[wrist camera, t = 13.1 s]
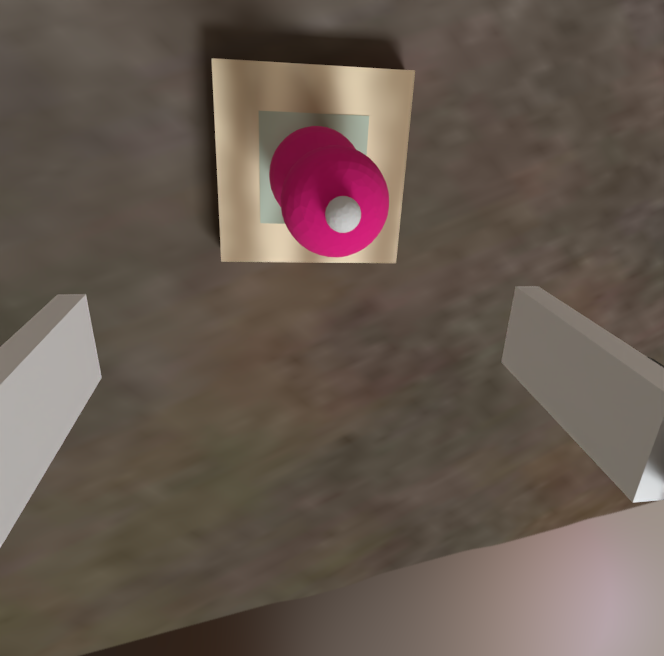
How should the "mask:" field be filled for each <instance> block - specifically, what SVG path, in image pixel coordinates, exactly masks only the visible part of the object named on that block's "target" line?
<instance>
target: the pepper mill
mask: <svg viewBox="0 0 664 656" xmlns="http://www.w3.org/2000/svg"><path fill="white" fill-rule="evenodd" d="M269 180H270V186H271V190H272V192H273V195H274V197H275V199H276V201H277V202H278V204H279V205H280V207H281V211H282V216H283V219H284V222H285V224H286V227H287V229H288V230H289V232H290V233H291V235H292V236H293V237H294V238H295V240H296V241H297V242H298V243H299V244H300V245H301V246H303V247H304V248H306V249H307V250H309V251H311V252H313V253H316V254H318V255H322V256H326V257H345V256H349V255H352V254H355V253H357V252H359V251H361V250H363V249H364V248H366V247H367V246H368V245H369V244H371V243H372V242H373V241H374V239H375V238H376V237H377V236H378V234H379V233H380V231H381V230H382V228H383V226H384V224H385V222H386V219H387V216H388V210H389V192H388V188H387V184H386V181H385V179H384V177H383V175H382V173H381V171H380V170H379V168H378V167H377V165H376V164H375V163H374V162H373V161H372V160H371V159H370V158H369V157H368V156H366V155H365V154H363V153H362V152H360V151H358V150H356V149H355V147H354V146H353V144H352V143H351V142H350V141H349V140H348V139H347V138H346V137H345V136H344V135H342V134H341V133H339V132H338V131H336V130H334V129H331V128H328V127H323V126H310V127H304V128H301V129H299V130H296V131H295V132H293V133H291V134H290V135H288V136H287V137H286V138H285V139H284V140H283V141H282V142H281V143H280V144H279V146H278V147H277V149H276V150H275V152H274V155H273V157H272V160H271V164H270V170H269Z"/></svg>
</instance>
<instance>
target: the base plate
mask: <svg viewBox="0 0 664 656" xmlns="http://www.w3.org/2000/svg"><path fill="white" fill-rule="evenodd" d="M414 77H415V71H414V70H398V69H381V68H365V67H348V66H332V65H315V64H298V63H282V62H265V61H249V60H232V59H215V58H212V79H213V99H214V120H215V141H216V161H217V182H218V203H219V223H220V244H221V262H326V263H396V257H397V247H398V237H399V227H400V217H401V207H402V197H403V187H404V177H405V167H406V157H407V147H408V137H409V127H410V117H411V107H412V97H413V87H414ZM310 126H323V127H328V128H331V129H334V130H336V131H338V132H339V133H341V134H342V135H344V136H345V137H346V138H347V139H348V140H349V141H350V142H351V143H352V144H353V146H354V147H355V149H356V150H358V151H360V152H362V153H363V154H365V155H366V156H368V157H369V158H370V159H371V160H372V161H373V162H374V163H375V164H376V165H377V167H378V168H379V170H380V171H381V173H382V175H383V177H384V179H385V181H386V184H387V188H388V192H389V210H388V216H387V219H386V222H385V224H384V226H383V228H382V230H381V231H380V233H379V234H378V236H377V237H376V238H375V239H374V241H373V242H372V243H371V244H369V245H368V246H367V247H366V248H364V249H363V250H361V251H359V252H357V253H355V254H352V255H349V256H345V257H326V256H322V255H318V254H316V253H313V252H311V251H309V250H307V249H306V248H304V247H303V246H301V245H300V244H299V243H298V242H297V241H296V240H295V238H294V237H293V236H292V235H291V233H290V232H289V230H288V229H287V227H286V224H285V222H284V219H283V216H282V211H281V207H280V205H279V204H278V202H277V201H276V199H275V197H274V195H273V192H272V190H271V186H270V180H269V170H270V164H271V160H272V157H273V155H274V152H275V150H276V149H277V147H278V146H279V144H280V143H281V142H282V141H283V140H284V139H285V138H286V137H287V136H288V135H290V134H291V133H293V132H295V131H296V130H299V129H301V128H304V127H310Z"/></svg>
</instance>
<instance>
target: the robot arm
mask: <svg viewBox="0 0 664 656" xmlns="http://www.w3.org/2000/svg"><path fill="white" fill-rule="evenodd" d="M501 362H502V363H503V364H504V366H505V367H506V368H507V369H508V370H509V371H510V372H511V373H512V374H513V375H514V376H515V377H516V378H517V379H518V380H519V382H520V383H521V384H522V385H523V386H524V387H525V388H526V389H527V390H528V391H529V392H530V393H531V394H532V395H533V397H534V398H535V399H536V400H537V401H538V402H539V403H540V404H541V405H542V406H543V407H544V408H545V409H546V410H547V411H548V413H549V414H550V415H551V416H552V417H553V418H554V419H555V420H556V421H557V422H558V423H559V424H560V425H561V426H562V427H563V429H564V430H565V431H566V432H567V433H568V434H569V435H570V436H571V437H572V438H573V439H574V440H575V441H576V442H577V444H578V445H579V446H580V447H581V448H582V449H583V450H584V451H585V452H586V453H587V454H588V455H589V456H590V457H591V458H592V460H593V461H594V462H595V463H596V464H597V465H598V466H599V467H600V468H601V469H602V470H603V471H604V472H605V473H606V474H607V476H608V477H609V478H610V479H611V480H612V481H613V482H614V483H615V484H616V485H617V486H618V487H619V488H620V489H621V490H622V492H623V493H624V494H625V495H626V496H627V497H628V498H629V499H630V500H631V501H632V502H644V501H657V500H664V366H663V365H661V364H660V363H658V362H657V361H655V360H654V359H652V358H649V357H647V356H645V355H643V354H642V353H640V352H639V351H637V350H636V349H634V348H632V347H631V346H629V345H628V344H626V343H625V342H623V341H622V340H620V339H619V338H617V337H616V336H614V335H612V334H611V333H609V332H608V331H606V330H605V329H603V328H602V327H600V326H599V325H597V324H596V323H594V322H592V321H591V320H589V319H588V318H586V317H585V316H583V315H582V314H580V313H579V312H577V311H575V310H574V309H572V308H571V307H569V306H568V305H566V304H565V303H563V302H562V301H560V300H559V299H557V298H555V297H554V296H552V295H551V294H549V293H548V292H546V291H545V290H543V289H542V288H540V287H539V286H517V287H516V288H515V293H514V298H513V303H512V309H511V314H510V319H509V324H508V330H507V335H506V340H505V345H504V351H503V356H502V361H501ZM101 378H102V377H101V372H100V367H99V361H98V356H97V351H96V345H95V340H94V335H93V329H92V324H91V319H90V314H89V308H88V303H87V298H86V294H68V295H57V296H56V297H54V298H53V299H52V300H51V301H50V302H49V303H48V304H47V305H46V306H45V307H44V308H42V309H41V310H40V311H39V312H38V313H37V314H36V315H35V316H34V317H33V318H32V319H30V320H29V321H28V322H27V323H26V324H25V325H24V326H23V327H22V328H21V329H20V330H18V331H17V332H16V333H15V334H14V335H13V336H12V337H11V338H10V339H9V340H7V341H6V342H5V343H4V344H3V345H2V346H1V347H0V547H1V546H2V544H3V542H4V541H5V539H6V537H7V536H8V534H9V532H10V531H11V529H12V527H13V526H14V524H15V522H16V521H17V519H18V517H19V516H20V514H21V512H22V511H23V509H24V507H25V505H26V504H27V502H28V500H29V499H30V497H31V495H32V494H33V492H34V490H35V489H36V487H37V485H38V484H39V482H40V480H41V479H42V477H43V475H44V474H45V472H46V470H47V468H48V467H49V465H50V463H51V462H52V460H53V458H54V457H55V455H56V453H57V452H58V450H59V448H60V447H61V445H62V443H63V442H64V440H65V438H66V437H67V435H68V433H69V432H70V430H71V428H72V426H73V425H74V423H75V421H76V420H77V418H78V416H79V415H80V413H81V411H82V410H83V408H84V406H85V405H86V403H87V401H88V400H89V398H90V396H91V395H92V393H93V391H94V390H95V388H96V386H97V384H98V383H99V381H100V379H101Z"/></svg>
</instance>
